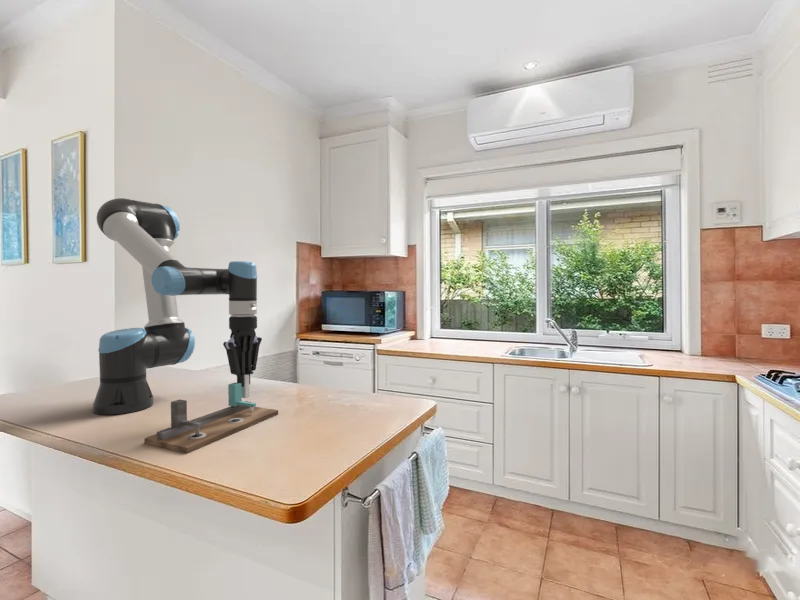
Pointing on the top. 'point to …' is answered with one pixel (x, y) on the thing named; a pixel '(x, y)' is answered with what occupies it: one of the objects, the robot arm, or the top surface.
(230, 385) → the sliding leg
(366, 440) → the top surface
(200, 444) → the board
